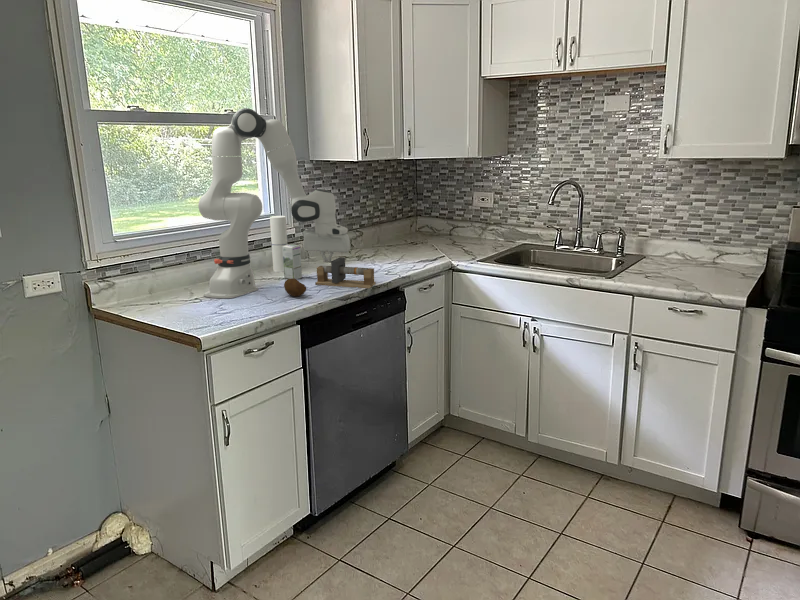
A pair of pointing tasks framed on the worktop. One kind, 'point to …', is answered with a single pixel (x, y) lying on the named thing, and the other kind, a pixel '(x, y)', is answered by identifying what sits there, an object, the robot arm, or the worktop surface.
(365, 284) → the pipe rig
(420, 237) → the worktop surface
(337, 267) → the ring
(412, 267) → the worktop surface
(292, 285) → the potato
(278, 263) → the cylindrical container
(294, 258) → the syrup box
